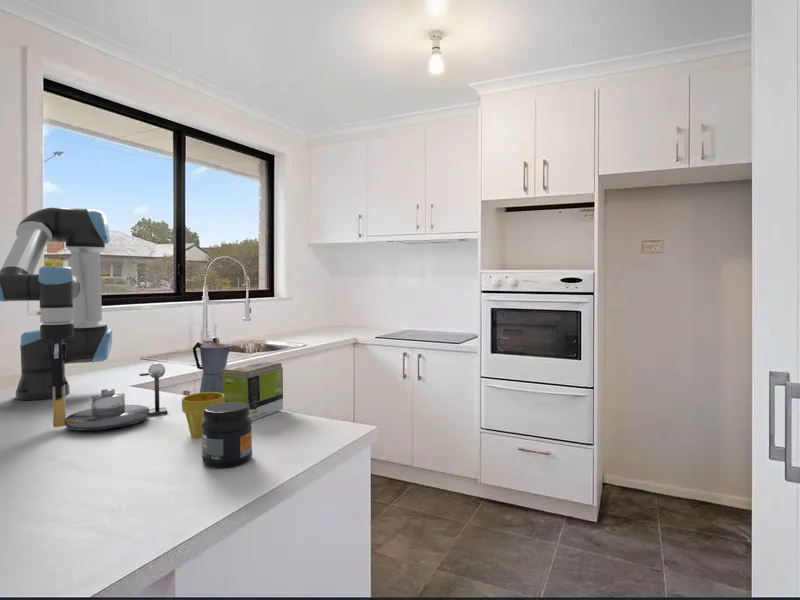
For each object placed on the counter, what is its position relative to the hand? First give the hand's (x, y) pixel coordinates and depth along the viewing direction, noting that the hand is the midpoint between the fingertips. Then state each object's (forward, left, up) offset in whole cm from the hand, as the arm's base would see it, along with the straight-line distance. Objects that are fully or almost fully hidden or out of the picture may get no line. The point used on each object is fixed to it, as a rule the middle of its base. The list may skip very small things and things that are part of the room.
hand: (59, 409), depth 134 cm
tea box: (+16, +49, -5) cm, 51 cm away
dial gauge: (0, +23, -5) cm, 23 cm away
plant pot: (+28, +33, -5) cm, 43 cm away
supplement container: (+51, +34, -5) cm, 61 cm away
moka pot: (-16, +43, -5) cm, 46 cm away
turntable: (+5, +10, -3) cm, 12 cm away
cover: (+4, +12, -2) cm, 12 cm away
